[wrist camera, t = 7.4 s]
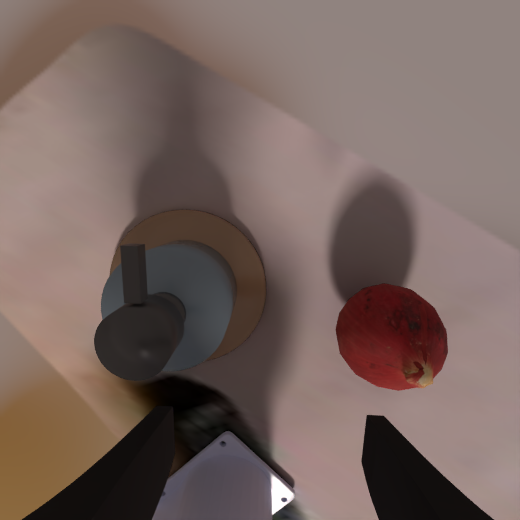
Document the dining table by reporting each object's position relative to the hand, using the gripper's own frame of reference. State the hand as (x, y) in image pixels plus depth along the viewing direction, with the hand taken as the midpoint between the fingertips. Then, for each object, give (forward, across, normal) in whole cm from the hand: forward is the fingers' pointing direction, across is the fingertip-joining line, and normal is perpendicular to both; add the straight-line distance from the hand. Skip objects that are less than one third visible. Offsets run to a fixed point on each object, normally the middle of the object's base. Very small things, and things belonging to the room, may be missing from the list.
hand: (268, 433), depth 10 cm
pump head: (+5, +6, -3) cm, 8 cm away
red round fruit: (+11, -7, -1) cm, 13 cm away
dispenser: (+10, +6, -2) cm, 12 cm away
